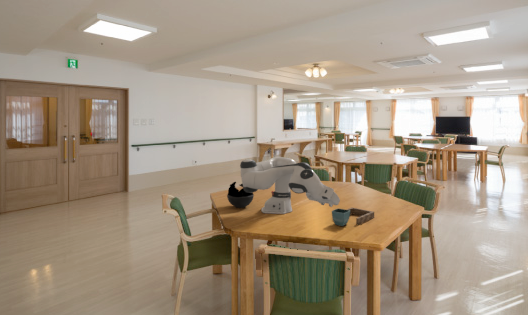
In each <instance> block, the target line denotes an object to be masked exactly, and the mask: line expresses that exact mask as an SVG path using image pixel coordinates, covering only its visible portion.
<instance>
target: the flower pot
mask: <svg viewBox="0 0 528 315" xmlns="http://www.w3.org/2000/svg"><path fill="white" fill-rule="evenodd" d="M331 216H332V217H331V218H332V221H333V223H334V224H335V225H336V226H340V227H344V226H346V225H347V224H348V222H349V220H350V216H351V215H350V210H347V209H344V208H335V209H333V210H331Z"/></svg>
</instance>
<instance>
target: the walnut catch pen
mask: <svg viewBox="0 0 528 315" xmlns="http://www.w3.org/2000/svg"><path fill="white" fill-rule="evenodd" d="M346 210H350V216H351V215H356V216H358V217H356V219H355V220H356V221H355V223H356V224H355V225H357V226H359V225H361V224H364V223H366V222H368V221H370V220H372V219H375V211H370V210H367V209H362V208H357V207H349V208H346Z"/></svg>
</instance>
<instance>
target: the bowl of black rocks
mask: <svg viewBox="0 0 528 315" xmlns="http://www.w3.org/2000/svg"><path fill="white" fill-rule="evenodd" d="M236 184H237V182H236V181H234V182H232V183H231V184H229V187H228V193H227V194H226V197H227V200H228V203H229V204H230V205H231V206H233V207H235V208H237V209H238V208H239V209H242V208H246V207H248V206H249V205H250V204H251V203H252V202H253V199H254V196H255V194H254V192H253V193H248V192H245V191H244V189H243V184H242V183H240V184H239V186H240V187H241V188H240V189H238V188H237V187H236Z"/></svg>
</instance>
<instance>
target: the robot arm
mask: <svg viewBox="0 0 528 315" xmlns="http://www.w3.org/2000/svg"><path fill="white" fill-rule="evenodd" d="M239 167H240V168H239V169H240V178H241V184H243V187H242V188H243V189H244V191H245V192H248V193H253V194H254V193H255V192H256V193H257V192H258V190H259V191H261V190H262V191H264V190H268V189H271V188H272V187H273V185H274V190H272V191H271V196H270V197H269V198H268V199H267V200H266V201H265V203H264V205H263V207H261V213H263V214H278V215H280V214H281V215H285V214H288V213H291V212H293V208H292V201H291V200H292V199H291V198H292V192H293V193H295V194H298V195H299V194H305V196H306V197H307V199H308V200H309V201H312V202H313V201H314V202H317V203H319V204H320V205H322V206H324V205H325V204H328V206H329V207H330V208H332V207H333V206H338V205H339V203H340V201H341V199H340V197H339V195H338V194H337V193H336V191H335V189H334V188H332V187H330V186H327V185H325V184H324V183H323V182H322V181H321V179H320V177H319V175H318V174H316V172H315V171H314V170H313V169H312V167H311V166H310V164H309V163H308V162H303V161H301V162H300V161H299V162H297V161H296V160H294V159H292V158H290V157H284V156H278V155H277V156H274V157H271V158H269V159H267V160H262V161H258V162H256V160H254V159H250V158H247V159H246V158H245V159H243V160H241V162H240V165H239Z"/></svg>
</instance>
